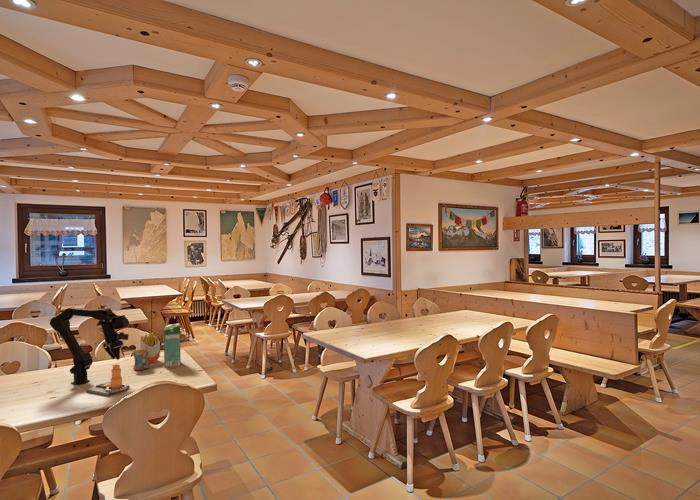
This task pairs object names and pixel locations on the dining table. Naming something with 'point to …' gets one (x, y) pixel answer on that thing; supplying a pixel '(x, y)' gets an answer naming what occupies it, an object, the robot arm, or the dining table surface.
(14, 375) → the dining table surface
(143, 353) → the mug
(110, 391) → the plate
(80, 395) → the dining table surface
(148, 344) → the french fries container
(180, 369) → the dining table surface
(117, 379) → the wire nut
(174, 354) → the milk carton
